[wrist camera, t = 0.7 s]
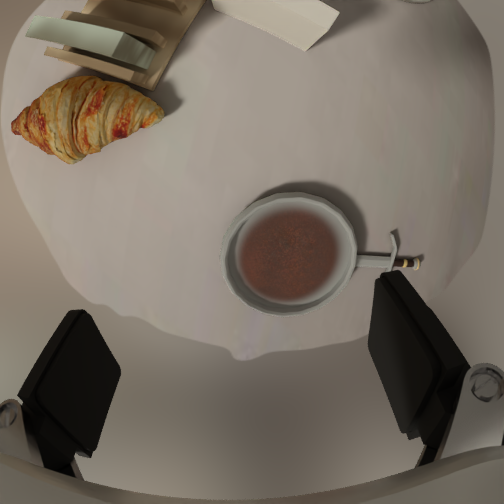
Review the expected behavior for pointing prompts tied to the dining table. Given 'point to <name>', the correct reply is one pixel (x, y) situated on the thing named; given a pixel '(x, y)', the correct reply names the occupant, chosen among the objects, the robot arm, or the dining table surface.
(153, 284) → the dining table surface
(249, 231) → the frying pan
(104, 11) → the rack
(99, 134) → the croissant
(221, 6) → the white rectangular slab
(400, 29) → the dining table surface
